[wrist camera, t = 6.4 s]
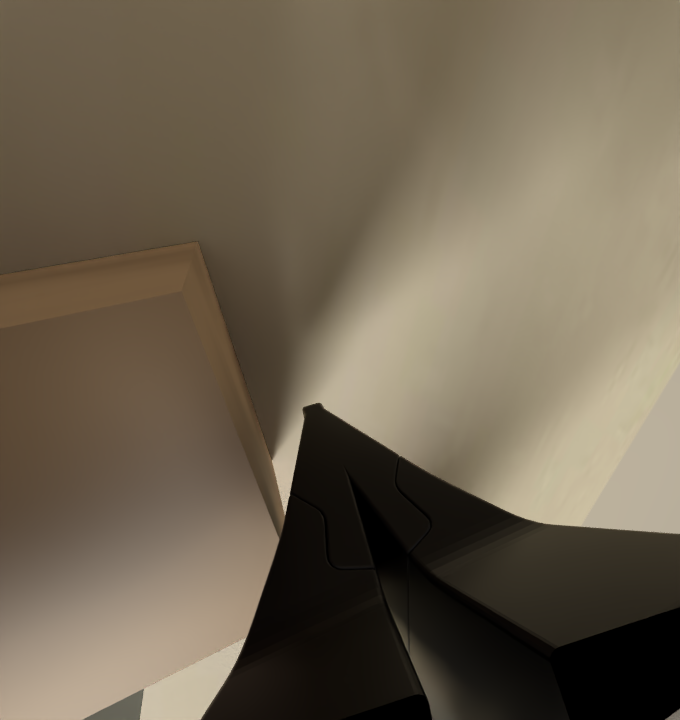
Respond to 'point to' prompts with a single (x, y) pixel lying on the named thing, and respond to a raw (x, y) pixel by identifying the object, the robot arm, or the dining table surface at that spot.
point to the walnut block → (123, 481)
